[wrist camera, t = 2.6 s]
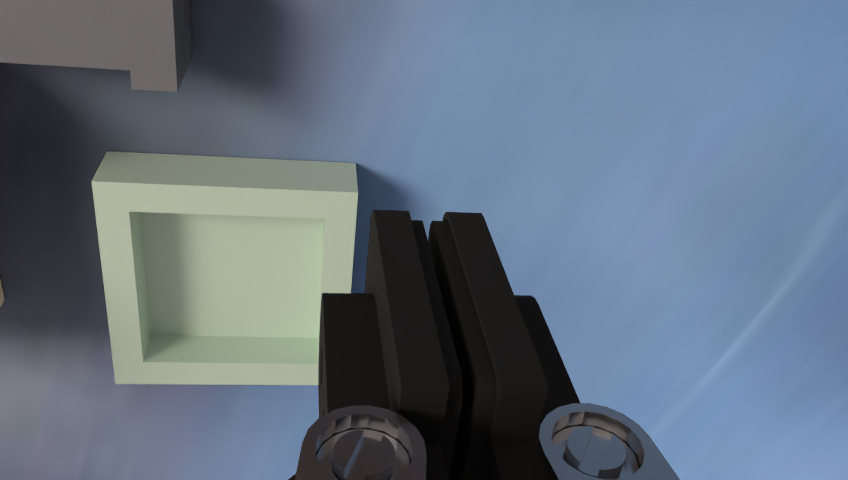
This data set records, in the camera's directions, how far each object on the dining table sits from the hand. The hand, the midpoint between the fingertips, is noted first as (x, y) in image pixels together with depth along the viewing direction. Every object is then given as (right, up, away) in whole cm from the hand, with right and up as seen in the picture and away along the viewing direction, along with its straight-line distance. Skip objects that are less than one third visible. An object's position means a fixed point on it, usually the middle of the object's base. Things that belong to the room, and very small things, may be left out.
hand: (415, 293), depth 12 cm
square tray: (-7, 0, +16) cm, 17 cm away
